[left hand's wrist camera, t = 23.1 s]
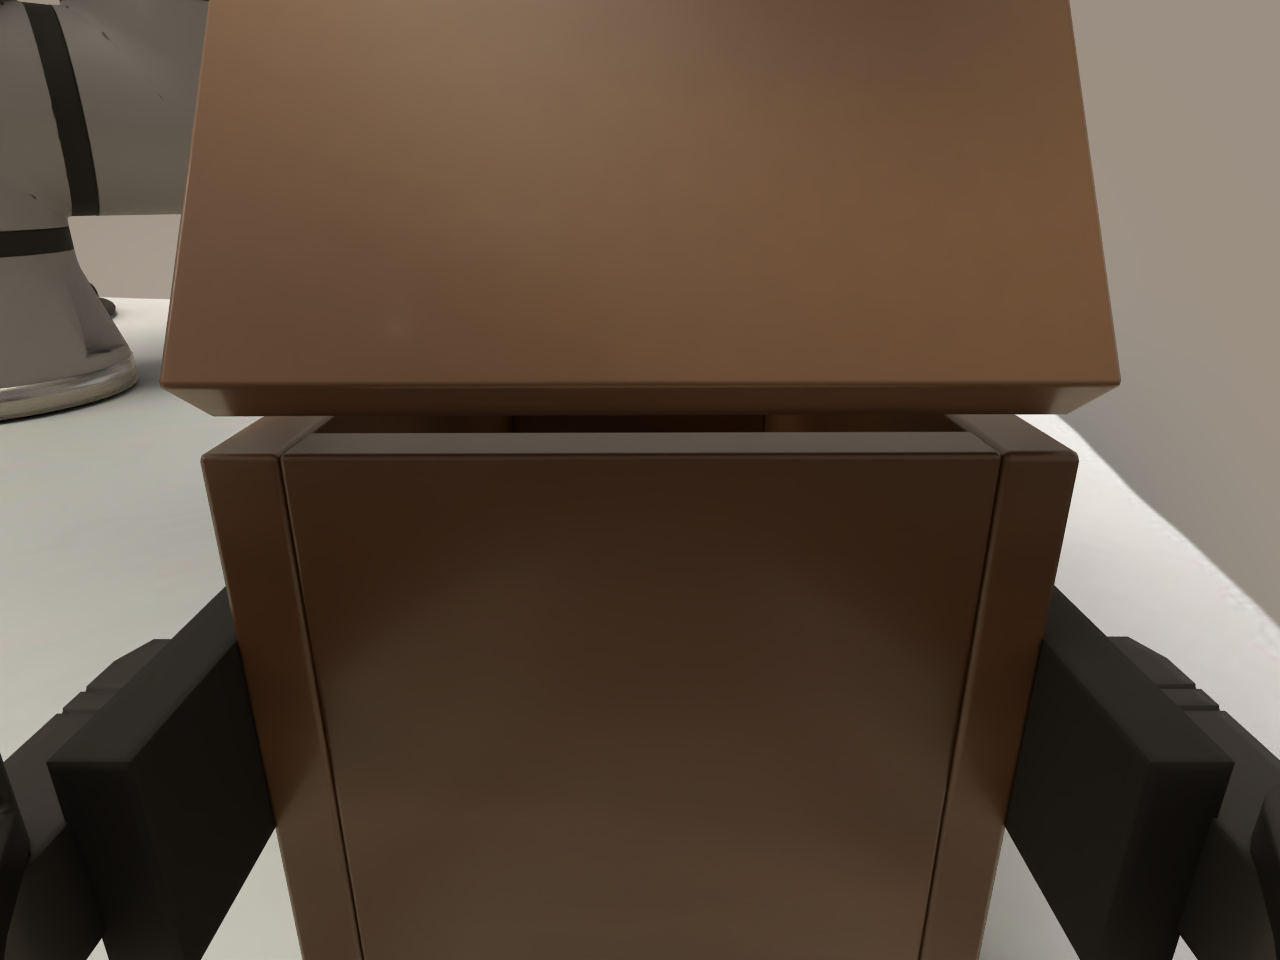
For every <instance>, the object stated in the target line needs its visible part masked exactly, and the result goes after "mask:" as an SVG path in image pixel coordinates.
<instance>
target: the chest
mask: <svg viewBox="0 0 1280 960" xmlns="http://www.w3.org/2000/svg"><path fill="white" fill-rule="evenodd" d="M1078 463H1079V459H1078V455H1077V453H1076V452H1074V451H1073V450H1071V449H1069V448H1068V447H1066V446H1065V445H1063V444H1061V443H1060V442H1058V441H1056V440H1055V439H1053V438H1052V437H1050V436H1048V435H1047V434H1045V433H1043V432H1042V431H1040V430H1039V429H1037V428H1035V427H1034V426H1032V425H1031V424H1029V423H1027V422H1026V421H1024V420H1022V419H1021V418H1019V417H1018V416H1016V415H1014V414H949V415H529V416H264V417H262V418H261V419H259V420H257V421H256V422H254V423H253V424H251V425H250V426H248V427H246V428H245V429H243V430H242V431H240V432H238V433H237V434H235V435H234V436H232V437H230V438H229V439H227V440H226V441H224V442H223V443H221V444H219V445H218V446H216V447H215V448H213V449H211V450H210V451H208V452H207V453H205V454H204V455H202V457H201V467H202V472H203V477H204V482H205V486H206V491H207V496H208V501H209V506H210V511H211V516H212V521H213V525H214V530H215V535H216V540H217V545H218V550H219V555H220V559H221V564H222V569H223V574H224V579H225V584H226V589H227V594H228V598H229V603H230V608H231V613H232V618H233V623H234V628H235V633H236V637H237V642H238V647H239V652H240V657H241V662H242V667H243V672H244V676H245V681H246V686H247V691H248V696H249V701H250V706H251V711H252V715H253V720H254V725H255V730H256V735H257V740H258V745H259V750H260V754H261V759H262V764H263V769H264V774H265V779H266V784H267V789H268V793H269V798H270V803H271V808H272V813H273V818H274V823H275V827H276V832H277V837H278V842H279V847H280V852H281V857H282V862H283V866H284V871H285V876H286V881H287V886H288V891H289V896H290V901H291V905H292V910H293V915H294V920H295V925H296V930H297V935H298V940H299V944H300V949H301V954H302V959H303V960H978V959H979V954H980V949H981V944H982V939H983V934H984V929H985V924H986V919H987V914H988V909H989V904H990V899H991V894H992V890H993V885H994V880H995V875H996V870H997V865H998V860H999V855H1000V850H1001V845H1002V840H1003V835H1004V830H1005V823H1006V818H1007V813H1008V808H1009V803H1010V798H1011V793H1012V788H1013V784H1014V779H1015V774H1016V769H1017V764H1018V759H1019V754H1020V749H1021V744H1022V739H1023V734H1024V729H1025V724H1026V720H1027V715H1028V710H1029V705H1030V700H1031V695H1032V690H1033V685H1034V680H1035V675H1036V670H1037V665H1038V660H1039V655H1040V651H1041V646H1042V641H1043V637H1044V632H1045V627H1046V622H1047V617H1048V612H1049V607H1050V602H1051V597H1052V592H1053V587H1054V582H1055V577H1056V572H1057V568H1058V563H1059V558H1060V553H1061V548H1062V543H1063V538H1064V533H1065V528H1066V523H1067V518H1068V513H1069V508H1070V503H1071V498H1072V493H1073V488H1074V483H1075V478H1076V473H1077V468H1078Z"/></svg>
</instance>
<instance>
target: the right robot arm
mask: <svg viewBox="0 0 1280 960" xmlns="http://www.w3.org/2000/svg"><path fill="white" fill-rule="evenodd" d="M208 4H209V0H60V5H45V4H36V3H26V2H19V1H17V0H0V420H5V419H12V418H18V417H24V416H30V415H36V414H41V413H47V412H52V411H57V410H61V409H66V408H70V407H74V406H79V405H83V404H86V403H90V402H94V401H97V400H100V399H104V398H107V397H110V396H112V395H115V394H118V393H120V392H122V391H124V390H126V389H128V388H130V387H131V386H133V385H134V384H135V383H136V382H137V380H138V375H137V371H136V367H135V362H134V358H133V353H132V351H131V350H130V349H129V346H128V344H127V343H126V341H125V340H124V338H123V336H122V335H121V333H120V332H119V330H118V328H117V327H116V325H115V323H114V322H113V320H112V319H111V317H110V315H111V314H113V313H114V312H115V308H116V307H115V305H114V304H113V302H111V301H109V300H107V299H104V298H99V295H98V293H97V291H96V289H95V287H94V286H93V285H92V284H91V283H89V281H88V280H87V278H86V276H85V275H84V273H83V272H82V270H81V268H80V266H79V263H78V261H77V258H76V254H75V251H74V246H73V242H72V238H71V234H70V230H69V225H68V220H67V218H68V217H70V216H93V215H96V216H106V215H157V214H181V213H182V205H183V197H184V190H185V182H186V174H187V166H188V159H189V151H190V143H191V136H192V128H193V120H194V112H195V105H196V97H197V89H198V81H199V74H200V66H201V58H202V51H203V43H204V35H205V27H206V20H207V12H208Z"/></svg>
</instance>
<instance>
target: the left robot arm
mask: <svg viewBox="0 0 1280 960" xmlns="http://www.w3.org/2000/svg"><path fill="white" fill-rule="evenodd" d="M1005 827H1006V829H1007V831H1008V833H1009V835H1010V836H1011V838H1012V840H1013V842H1014V843H1015V845H1016V847H1017V849H1018V850H1019V852H1020V854H1021V856H1022V858H1023V859H1024V861H1025V863H1026V865H1027V866H1028V868H1029V870H1030V872H1031V874H1032V875H1033V877H1034V879H1035V881H1036V882H1037V884H1038V886H1039V888H1040V889H1041V891H1042V893H1043V895H1044V897H1045V898H1046V900H1047V902H1048V904H1049V905H1050V907H1051V909H1052V911H1053V913H1054V914H1055V916H1056V918H1057V920H1058V921H1059V923H1060V925H1061V927H1062V928H1063V930H1064V932H1065V934H1066V936H1067V937H1068V939H1069V941H1070V943H1071V944H1072V946H1073V948H1074V950H1075V951H1076V953H1077V955H1078V957H1079V959H1080V960H1172V958H1173V955H1174V952H1175V949H1176V946H1177V943H1178V940H1179V936H1180V935H1181V937H1182V938H1183V940H1184V941H1185V942H1186V944H1187V945H1188V947H1189V948H1190V949H1191V951H1192V952H1193V954H1194V955H1195V956H1196V958H1197V959H1198V960H1280V760H1279V759H1278V758H1277V757H1275V756H1274V755H1273V754H1272V753H1271V752H1270V751H1269V750H1268V749H1267V748H1266V747H1264V746H1263V745H1262V744H1261V743H1260V742H1259V741H1258V740H1257V739H1256V738H1255V737H1253V736H1252V735H1251V734H1250V733H1249V732H1248V731H1247V730H1246V729H1245V728H1243V727H1242V726H1241V725H1240V724H1239V723H1238V722H1237V721H1236V720H1235V719H1234V718H1232V717H1231V716H1230V715H1229V714H1228V713H1227V712H1226V711H1220V710H1219V705H1218V704H1217V703H1216V702H1215V701H1214V700H1213V699H1211V698H1210V697H1209V696H1208V695H1207V694H1206V693H1205V692H1204V691H1203V690H1202V689H1196V687H1195V683H1194V682H1193V681H1192V680H1190V679H1189V678H1188V677H1187V676H1186V675H1185V674H1184V673H1183V672H1182V671H1181V670H1179V669H1178V668H1177V667H1176V666H1175V665H1174V664H1173V663H1172V662H1171V661H1170V660H1168V659H1167V658H1166V657H1164V656H1162V655H1160V654H1158V653H1156V652H1155V651H1153V650H1151V649H1149V648H1147V647H1146V646H1144V645H1142V644H1140V643H1138V642H1136V641H1135V640H1133V639H1131V638H1129V637H1107V636H1106V635H1105V634H1104V633H1103V632H1102V631H1100V630H1099V629H1098V628H1097V627H1096V626H1095V625H1094V624H1093V623H1092V622H1091V621H1090V620H1089V619H1088V618H1087V617H1086V616H1085V615H1084V614H1083V613H1082V612H1081V611H1080V610H1079V609H1078V608H1077V607H1076V606H1075V605H1074V604H1073V603H1072V602H1071V601H1070V600H1069V599H1068V598H1067V597H1066V596H1065V595H1064V594H1063V593H1062V592H1061V591H1060V590H1059V589H1057V588H1056V587H1055V586H1054V587H1053V592H1052V597H1051V602H1050V607H1049V612H1048V617H1047V622H1046V627H1045V632H1044V637H1043V641H1042V646H1041V651H1040V655H1039V660H1038V665H1037V670H1036V675H1035V680H1034V685H1033V690H1032V695H1031V700H1030V705H1029V710H1028V715H1027V720H1026V724H1025V729H1024V734H1023V739H1022V744H1021V749H1020V754H1019V759H1018V764H1017V769H1016V774H1015V779H1014V784H1013V788H1012V793H1011V798H1010V803H1009V808H1008V813H1007V818H1006V823H1005ZM274 829H275V823H274V818H273V813H272V808H271V803H270V798H269V793H268V789H267V784H266V779H265V774H264V769H263V764H262V759H261V754H260V750H259V745H258V740H257V735H256V730H255V725H254V720H253V715H252V711H251V706H250V701H249V696H248V691H247V686H246V681H245V676H244V672H243V667H242V662H241V657H240V652H239V647H238V642H237V637H236V633H235V628H234V623H233V618H232V613H231V608H230V603H229V598H228V594H227V589H226V586H225V587H224V588H223V589H222V590H221V591H220V592H219V593H218V594H217V595H216V596H215V597H214V598H213V599H212V600H211V601H210V602H209V603H208V604H207V605H206V606H205V607H204V608H203V609H202V610H201V611H200V612H199V613H198V614H197V615H196V616H195V617H194V618H193V619H192V620H191V621H190V622H189V623H188V624H187V625H186V626H185V627H183V628H182V629H181V630H180V631H179V632H178V633H177V634H176V635H175V636H174V637H173V638H172V639H154V640H152V641H150V642H148V643H146V644H144V645H143V646H141V647H139V648H137V649H135V650H134V651H132V652H130V653H128V654H126V655H125V656H123V657H121V658H119V659H117V660H116V661H114V662H113V663H112V664H111V665H110V666H109V667H107V668H106V669H105V670H104V671H103V672H102V673H101V674H100V675H99V676H98V677H97V678H95V679H94V680H93V681H92V682H91V683H90V684H89V685H88V686H87V689H86V692H80V693H79V694H78V695H77V696H76V697H75V698H74V699H72V700H71V701H70V702H69V703H68V704H67V705H66V706H65V707H64V708H63V712H62V714H56V715H55V716H54V717H53V718H52V719H51V720H49V721H48V722H47V723H46V724H45V725H44V726H43V727H42V728H41V729H40V730H39V731H37V732H36V733H35V734H34V735H33V736H32V737H31V738H30V739H29V740H28V741H26V742H25V743H24V744H23V745H22V746H21V747H20V748H19V749H18V750H17V751H16V752H14V753H13V754H12V755H11V756H10V757H9V758H8V759H7V760H6V761H5V762H3V760H2V757H1V754H0V960H86V959H87V958H88V957H89V955H90V954H91V952H92V951H93V950H94V948H95V947H96V945H97V944H98V943H99V941H100V940H101V938H102V939H103V942H104V945H105V949H106V952H107V955H108V958H109V960H201V958H202V957H203V955H204V953H205V951H206V949H207V948H208V946H209V944H210V942H211V941H212V939H213V937H214V935H215V934H216V932H217V930H218V928H219V926H220V925H221V923H222V921H223V919H224V918H225V916H226V914H227V912H228V910H229V909H230V907H231V905H232V903H233V902H234V900H235V898H236V896H237V894H238V893H239V891H240V889H241V887H242V886H243V884H244V882H245V880H246V879H247V877H248V875H249V873H250V871H251V870H252V868H253V866H254V864H255V863H256V861H257V859H258V857H259V855H260V854H261V852H262V850H263V848H264V847H265V845H266V843H267V841H268V840H269V838H270V836H271V834H272V832H273V831H274Z"/></svg>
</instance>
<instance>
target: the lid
mask: <svg viewBox="0 0 1280 960" xmlns="http://www.w3.org/2000/svg"><path fill="white" fill-rule="evenodd" d="M1120 382H1121V376H1120V369H1119V362H1118V355H1117V347H1116V340H1115V332H1114V325H1113V318H1112V310H1111V303H1110V296H1109V289H1108V281H1107V274H1106V267H1105V259H1104V252H1103V245H1102V237H1101V230H1100V223H1099V215H1098V208H1097V200H1096V193H1095V186H1094V179H1093V171H1092V164H1091V156H1090V149H1089V142H1088V135H1087V127H1086V120H1085V113H1084V105H1083V98H1082V91H1081V83H1080V76H1079V69H1078V61H1077V54H1076V47H1075V39H1074V32H1073V25H1072V17H1071V10H1070V3H1069V0H209V4H208V12H207V20H206V27H205V35H204V43H203V51H202V58H201V66H200V74H199V81H198V89H197V97H196V105H195V112H194V120H193V128H192V136H191V143H190V151H189V159H188V166H187V174H186V182H185V190H184V197H183V205H182V213H181V221H180V228H179V236H178V244H177V252H176V259H175V267H174V274H173V282H172V290H171V298H170V305H169V313H168V321H167V328H166V336H165V344H164V352H163V359H162V367H161V375H160V386H161V387H162V388H163V389H165V390H166V391H168V392H170V393H172V394H174V395H175V396H177V397H179V398H181V399H183V400H184V401H186V402H188V403H190V404H192V405H193V406H195V407H197V408H199V409H201V410H202V411H204V412H206V413H208V414H210V415H212V416H529V415H949V414H1068V413H1070V412H1072V411H1074V410H1076V409H1078V408H1079V407H1081V406H1083V405H1085V404H1087V403H1088V402H1090V401H1092V400H1094V399H1096V398H1098V397H1099V396H1101V395H1103V394H1105V393H1107V392H1108V391H1110V390H1112V389H1114V388H1115V387H1117V386H1119V385H1120Z"/></svg>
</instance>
